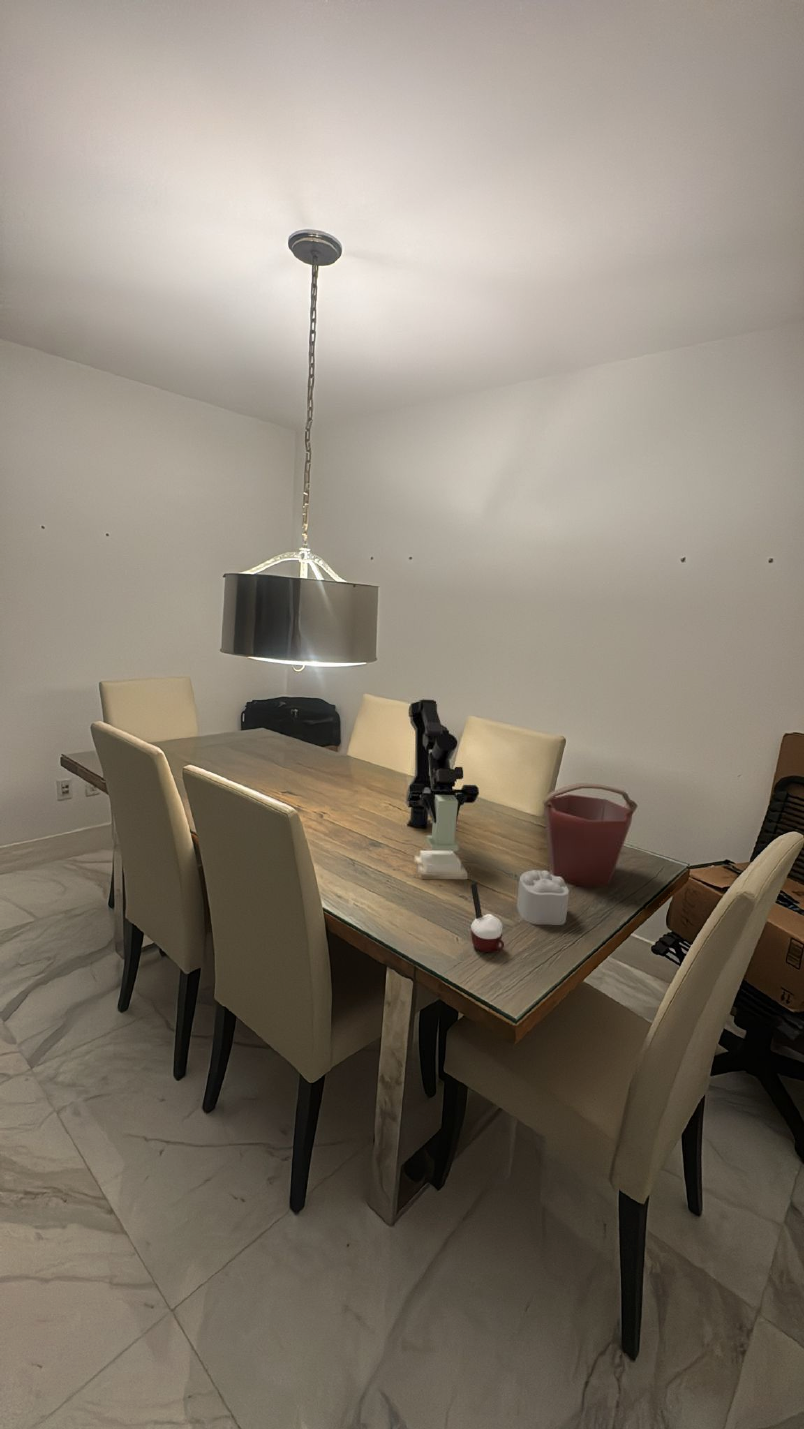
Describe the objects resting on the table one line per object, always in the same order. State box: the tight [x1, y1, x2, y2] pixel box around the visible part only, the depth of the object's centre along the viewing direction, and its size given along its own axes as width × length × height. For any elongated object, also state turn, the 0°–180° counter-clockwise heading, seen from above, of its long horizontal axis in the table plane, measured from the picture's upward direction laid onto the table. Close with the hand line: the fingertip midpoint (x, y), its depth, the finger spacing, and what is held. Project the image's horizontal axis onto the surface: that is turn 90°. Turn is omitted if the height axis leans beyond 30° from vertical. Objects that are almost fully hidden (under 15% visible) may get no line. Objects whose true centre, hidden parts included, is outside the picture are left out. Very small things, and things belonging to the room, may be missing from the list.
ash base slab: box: [413, 854, 469, 880], centre depth 160 cm, size 12×12×2 cm
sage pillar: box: [426, 795, 459, 852], centre depth 158 cm, size 7×7×13 cm
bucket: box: [542, 782, 638, 888], centre depth 161 cm, size 24×22×25 cm
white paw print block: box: [516, 869, 570, 926], centre depth 141 cm, size 10×13×9 cm
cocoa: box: [470, 881, 505, 953], centre depth 123 cm, size 10×6×12 cm, turn 18°
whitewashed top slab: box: [419, 850, 461, 872], centre depth 160 cm, size 9×9×2 cm
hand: (445, 822), depth 157 cm, fingers closed on sage pillar, 5 cm apart
